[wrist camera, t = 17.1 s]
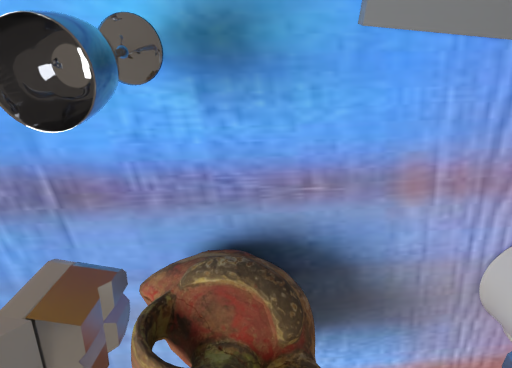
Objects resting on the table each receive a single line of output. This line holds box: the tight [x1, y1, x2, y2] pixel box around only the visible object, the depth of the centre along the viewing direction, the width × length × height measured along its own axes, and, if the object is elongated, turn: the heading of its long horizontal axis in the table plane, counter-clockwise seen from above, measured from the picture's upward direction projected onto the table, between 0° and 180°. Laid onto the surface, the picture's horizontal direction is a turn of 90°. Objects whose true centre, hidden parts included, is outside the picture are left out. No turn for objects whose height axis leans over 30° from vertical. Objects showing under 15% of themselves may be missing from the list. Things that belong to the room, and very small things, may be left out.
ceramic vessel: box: [131, 250, 320, 368], centre depth 39 cm, size 17×26×25 cm, turn 76°
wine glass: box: [0, 10, 163, 133], centre depth 32 cm, size 8×8×15 cm
